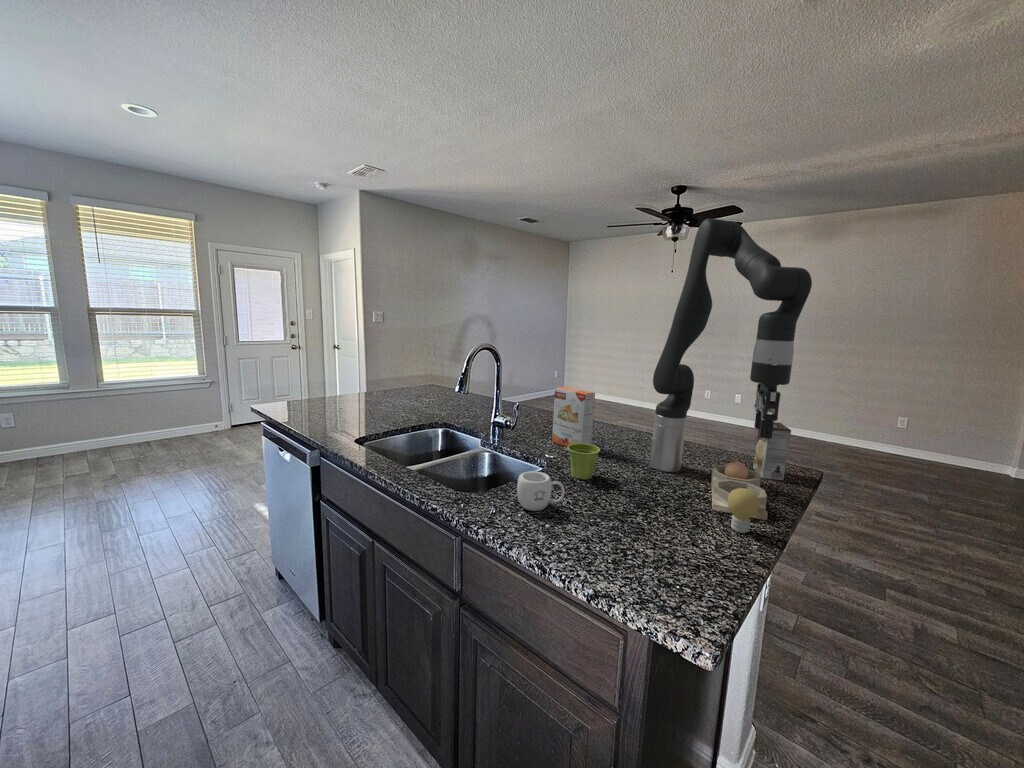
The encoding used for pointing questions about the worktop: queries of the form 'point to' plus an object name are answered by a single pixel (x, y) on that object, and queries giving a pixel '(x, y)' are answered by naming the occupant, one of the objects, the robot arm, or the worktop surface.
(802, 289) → the robot arm
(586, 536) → the worktop surface
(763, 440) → the coffee box
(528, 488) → the mug
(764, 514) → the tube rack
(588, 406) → the cracker box
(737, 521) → the light bulb
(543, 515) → the worktop surface
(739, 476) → the terracotta ball
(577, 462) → the plant pot
